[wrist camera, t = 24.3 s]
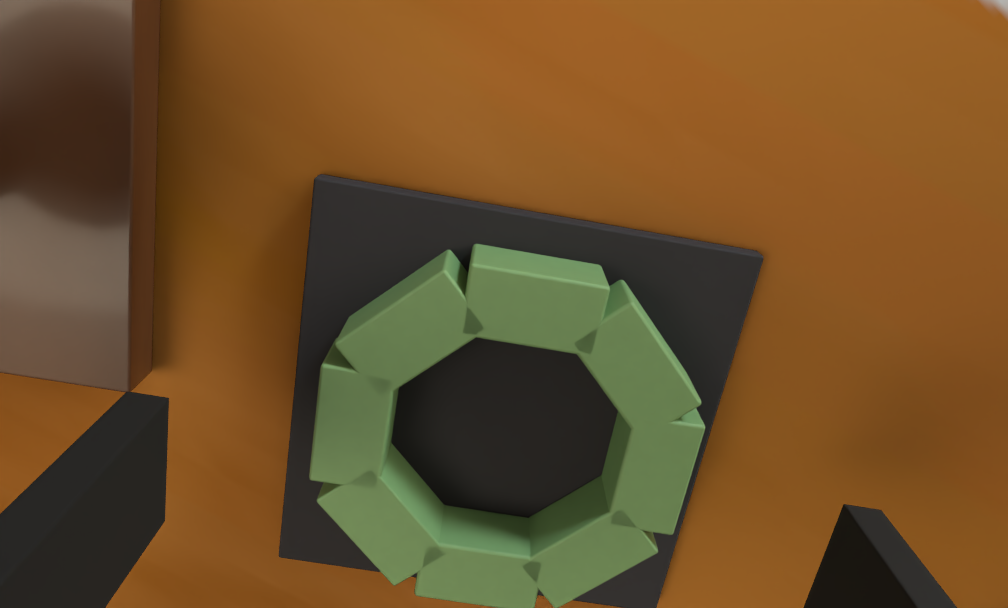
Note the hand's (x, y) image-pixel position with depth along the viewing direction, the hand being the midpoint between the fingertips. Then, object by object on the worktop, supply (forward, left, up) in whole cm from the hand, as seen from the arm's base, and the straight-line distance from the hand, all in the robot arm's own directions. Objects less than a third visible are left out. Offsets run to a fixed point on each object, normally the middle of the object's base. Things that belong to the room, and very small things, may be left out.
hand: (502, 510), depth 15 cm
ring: (0, 0, -4) cm, 4 cm away
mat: (0, 0, -4) cm, 4 cm away
